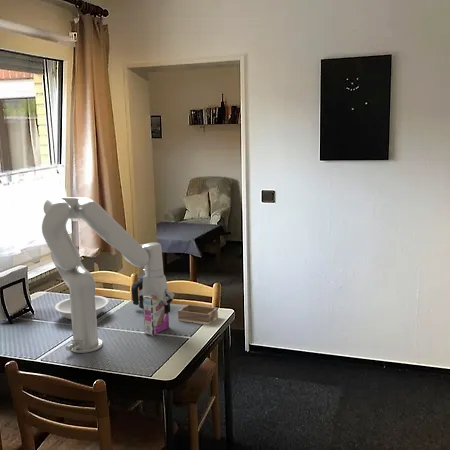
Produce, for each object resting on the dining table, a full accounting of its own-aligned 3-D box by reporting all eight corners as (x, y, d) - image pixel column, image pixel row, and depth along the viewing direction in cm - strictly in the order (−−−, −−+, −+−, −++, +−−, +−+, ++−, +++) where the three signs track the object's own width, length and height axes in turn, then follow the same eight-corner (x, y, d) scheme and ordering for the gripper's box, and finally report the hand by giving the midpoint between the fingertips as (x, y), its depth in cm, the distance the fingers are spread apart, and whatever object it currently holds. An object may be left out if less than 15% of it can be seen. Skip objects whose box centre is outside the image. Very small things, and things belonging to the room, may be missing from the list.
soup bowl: (102, 326, 232) (101, 312, 231) (48, 328, 232) (46, 313, 231) (115, 307, 255) (114, 294, 254) (65, 309, 256) (64, 295, 255)
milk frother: (145, 301, 263) (143, 272, 260) (173, 304, 257) (172, 274, 254) (130, 311, 250) (127, 280, 247) (159, 314, 244) (157, 283, 242)
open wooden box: (208, 324, 230) (208, 314, 229) (178, 320, 236) (177, 310, 235) (217, 317, 238) (217, 308, 237) (188, 313, 244) (187, 304, 243)
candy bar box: (153, 336, 219) (151, 298, 216) (144, 334, 222) (141, 296, 218) (170, 327, 228) (168, 290, 225) (160, 325, 231) (158, 289, 228)
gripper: (131, 273, 220) (135, 312, 224) (167, 276, 213) (170, 317, 217) (141, 268, 227) (145, 306, 231) (176, 271, 220) (179, 310, 223)
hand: (157, 311), depth 224 cm, fingers open, 9 cm apart
